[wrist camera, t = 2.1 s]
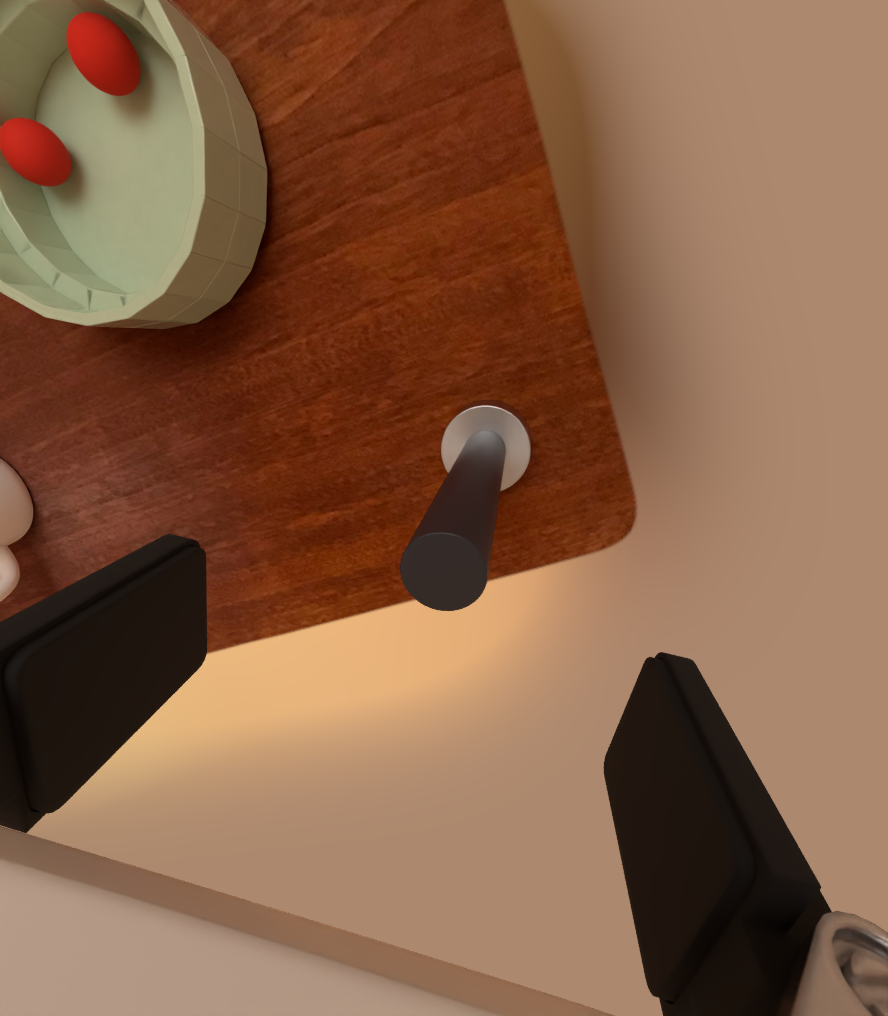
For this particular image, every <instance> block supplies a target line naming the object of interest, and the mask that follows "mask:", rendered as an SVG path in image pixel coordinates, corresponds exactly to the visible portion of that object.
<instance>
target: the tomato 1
mask: <svg viewBox="0 0 888 1016" xmlns="http://www.w3.org/2000/svg"><path fill="white" fill-rule="evenodd" d="M0 149H1V152H2V154H3V156H4V158H5V159H6V161H7V162H8V164H9V165H10V166H11V167H12V168H13V169H14V170H15V171H16V172H17V173H18V174H19V175H21V176H22V177H23V178H25V179H27V180H29V181H30V182H33V183H35V184H38V185H42V186H49V187H51V186H58V185H60V184H62V183H64V182H65V181H66V180H67V179H68V177H69V175H70V173H71V159H70V156H69V153H68V151H67V149H66V147H65V145H64V144H63V142H62V141H61V140H60V139H59V137H58V136H57V135H56V134H55V133H54V132H52V131H51V130H50V129H49V128H47V127H46V126H44V125H43V124H41V123H39V122H37V121H34V120H32V119H27V118H12V119H10V120H8V121H6V122H5V123H4V124H3V125H2V126H1V128H0Z"/></svg>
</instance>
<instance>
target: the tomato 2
mask: <svg viewBox="0 0 888 1016" xmlns="http://www.w3.org/2000/svg"><path fill="white" fill-rule="evenodd" d="M66 37H67V45H68V49H69V53H70V55H71V58H72V60H73V62H74V64H75V65H76V67H77V68H78V70H79V71H80V73H81V74H82V75H83V76H84V77H85V79H86V80H87V81H88V82H90V83H91V84H92V85H93V86H94V87H96V88H97V89H99V90H101V91H103V92H105V93H107V94H110V95H114V96H124V95H128V94H130V93H131V92H133V91H134V90H135V89H136V87H137V86H138V83H139V81H140V74H141V69H140V62H139V58H138V55H137V52H136V50H135V48H134V46H133V44H132V43H131V41H130V39H129V38H128V37H127V35H126V34H125V33H124V32H123V31H122V29H121V28H120V27H118V26H117V25H116V24H115V23H114V22H112V21H111V20H110V19H108V18H106V17H104V16H102V15H100V14H97V13H92V12H84V13H80V14H78V15H76V16H75V17H74V18H72V20H71V21H70V23H69V25H68V28H67V36H66Z"/></svg>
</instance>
